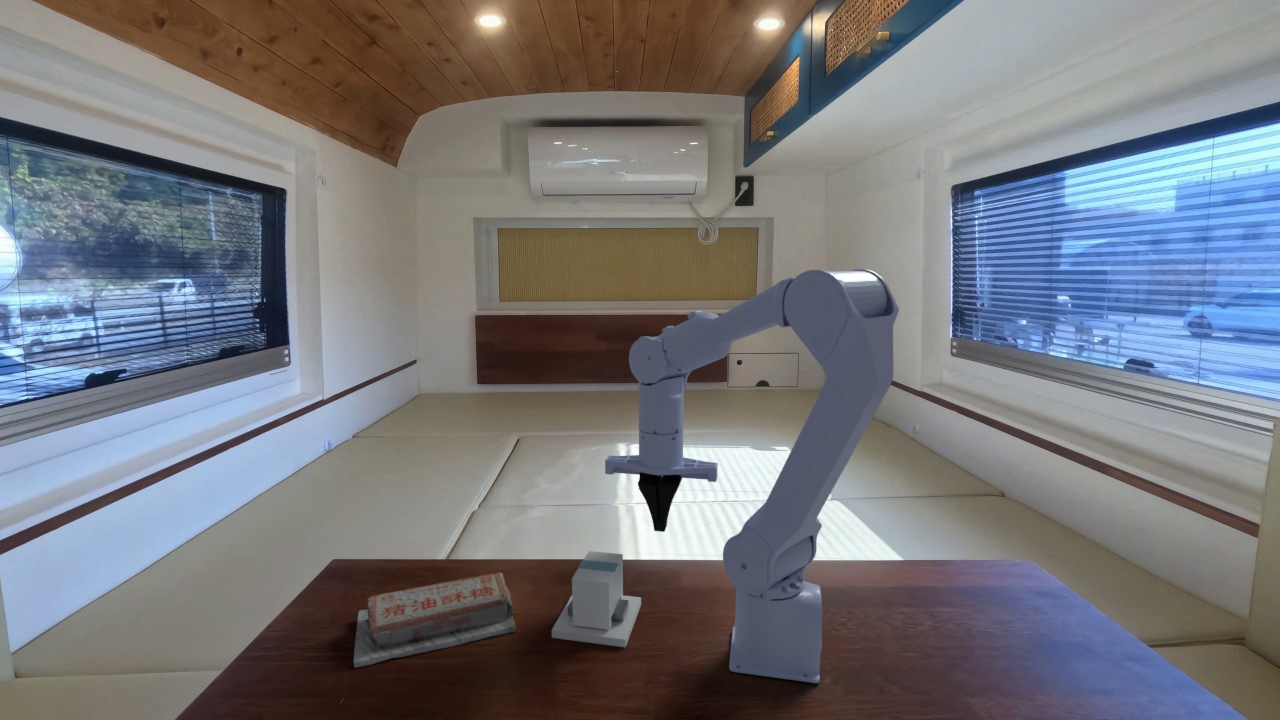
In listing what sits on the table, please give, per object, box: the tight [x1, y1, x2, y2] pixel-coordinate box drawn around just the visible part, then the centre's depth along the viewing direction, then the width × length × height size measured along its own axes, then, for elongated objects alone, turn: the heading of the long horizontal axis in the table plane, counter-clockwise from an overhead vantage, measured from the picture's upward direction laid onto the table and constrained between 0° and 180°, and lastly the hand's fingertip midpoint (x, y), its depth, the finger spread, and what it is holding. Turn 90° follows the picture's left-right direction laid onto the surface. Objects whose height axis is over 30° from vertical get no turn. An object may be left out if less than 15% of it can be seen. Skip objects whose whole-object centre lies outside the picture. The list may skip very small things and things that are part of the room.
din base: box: [551, 594, 642, 648], centre depth 74 cm, size 9×9×1 cm
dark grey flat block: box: [568, 599, 629, 621], centre depth 74 cm, size 7×3×1 cm, turn 78°
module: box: [571, 550, 624, 630], centre depth 73 cm, size 5×7×6 cm, turn 169°
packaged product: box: [353, 572, 517, 669], centre depth 73 cm, size 18×5×10 cm
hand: (660, 528), depth 79 cm, fingers closed
